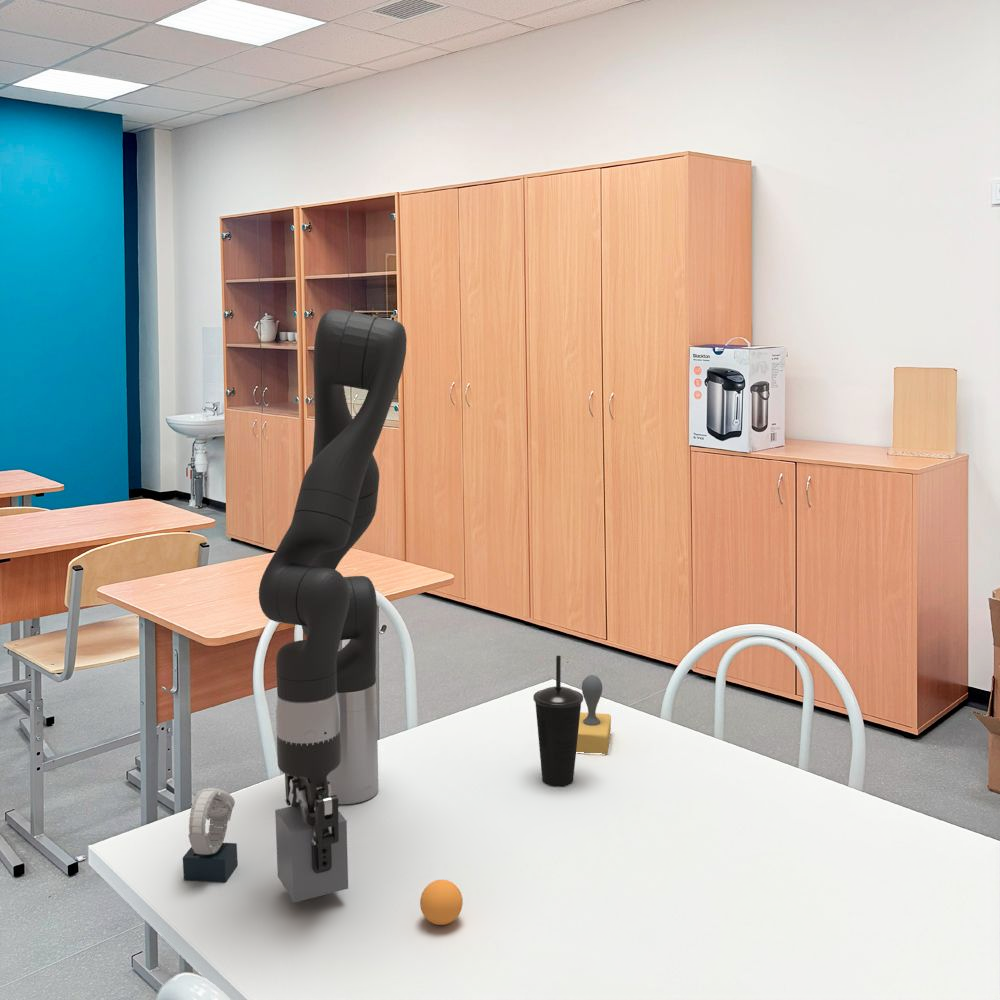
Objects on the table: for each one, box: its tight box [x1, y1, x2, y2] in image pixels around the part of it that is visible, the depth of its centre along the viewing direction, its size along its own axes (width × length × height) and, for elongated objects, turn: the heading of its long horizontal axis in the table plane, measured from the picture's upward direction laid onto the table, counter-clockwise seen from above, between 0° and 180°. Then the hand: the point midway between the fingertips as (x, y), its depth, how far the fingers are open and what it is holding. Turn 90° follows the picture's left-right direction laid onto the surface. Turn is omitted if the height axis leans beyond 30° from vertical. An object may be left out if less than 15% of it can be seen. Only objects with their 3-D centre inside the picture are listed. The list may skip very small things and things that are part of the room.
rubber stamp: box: [576, 674, 612, 755], centre depth 176 cm, size 10×6×12 cm, turn 171°
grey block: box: [274, 805, 349, 903], centre depth 128 cm, size 7×7×9 cm
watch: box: [182, 787, 239, 883], centre depth 134 cm, size 6×8×11 cm
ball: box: [419, 879, 464, 926], centre depth 123 cm, size 5×5×5 cm
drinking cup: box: [533, 655, 584, 787], centre depth 161 cm, size 8×8×20 cm
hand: (312, 856), depth 128 cm, fingers closed on grey block, 7 cm apart
